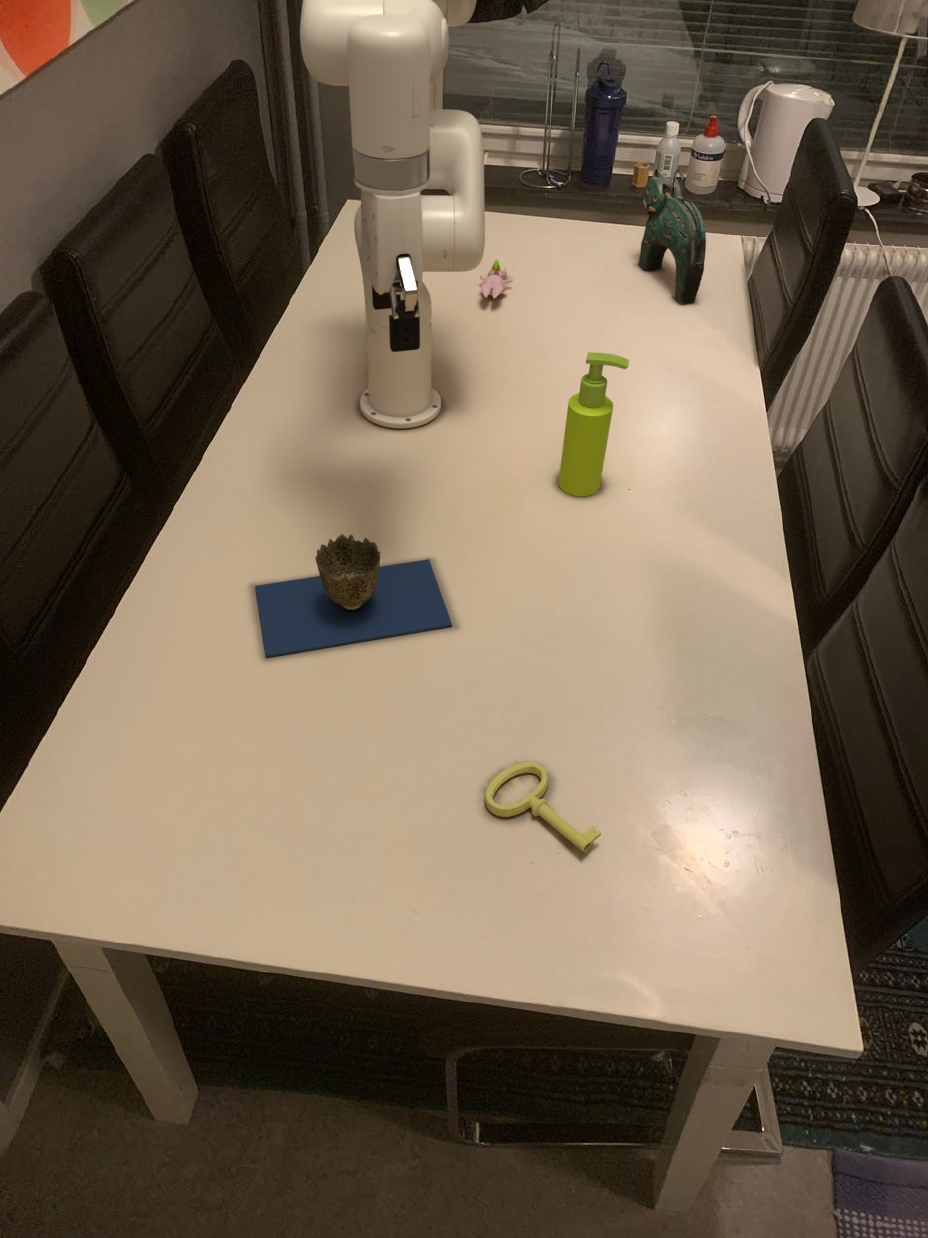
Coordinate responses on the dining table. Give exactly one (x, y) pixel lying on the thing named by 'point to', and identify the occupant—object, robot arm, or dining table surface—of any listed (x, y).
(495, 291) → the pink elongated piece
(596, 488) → the soap dispenser
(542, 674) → the dining table surface
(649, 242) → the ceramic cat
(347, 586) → the dark brown rounded piece
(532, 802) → the key
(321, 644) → the cloth
